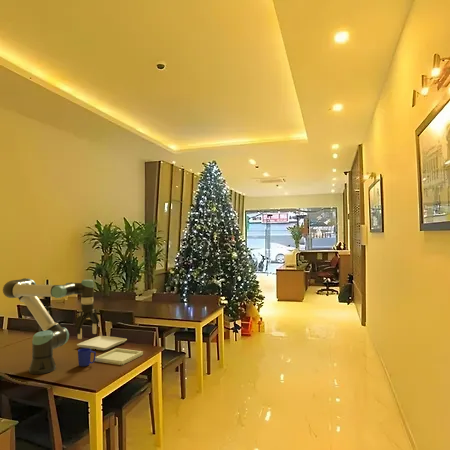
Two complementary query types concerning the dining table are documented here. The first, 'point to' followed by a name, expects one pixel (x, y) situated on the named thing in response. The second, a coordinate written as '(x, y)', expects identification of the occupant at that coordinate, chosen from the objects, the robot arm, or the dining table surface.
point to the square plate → (102, 342)
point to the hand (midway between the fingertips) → (87, 336)
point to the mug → (85, 356)
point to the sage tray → (118, 356)
